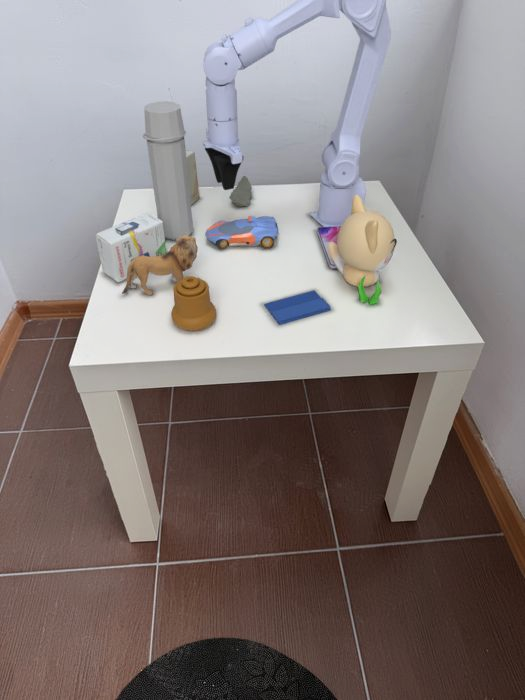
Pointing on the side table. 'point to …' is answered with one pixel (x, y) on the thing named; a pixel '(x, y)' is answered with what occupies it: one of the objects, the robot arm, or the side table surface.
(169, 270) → the lion figurine
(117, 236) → the ink box
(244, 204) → the stone
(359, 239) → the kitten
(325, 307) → the cloth
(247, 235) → the toy car
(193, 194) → the box
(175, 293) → the ornamental finial
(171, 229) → the water bottle
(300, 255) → the side table surface
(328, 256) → the smartphone
